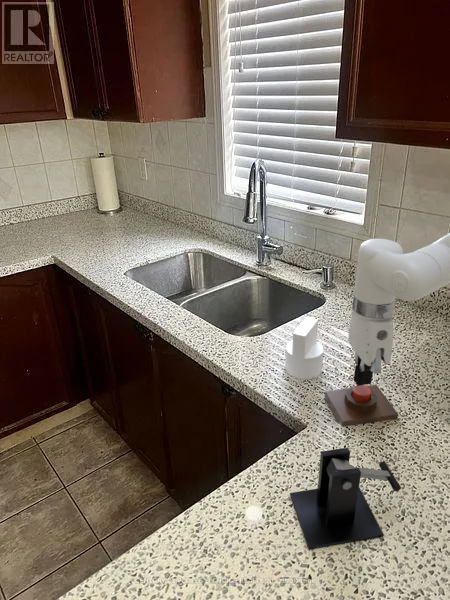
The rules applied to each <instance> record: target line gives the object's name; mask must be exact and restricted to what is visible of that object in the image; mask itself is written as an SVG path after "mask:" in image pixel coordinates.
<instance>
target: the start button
mask: <svg viewBox="0 0 450 600" xmlns="http://www.w3.org/2000/svg"><path fill="white" fill-rule="evenodd" d="M354 386H355V387H354V388H353V394H352V396H353V398H354V399H355V400H357V401H360V402H367V401H369V400H370V395H371V390H370V389H369V388H368V387H366V386H367V385H360V386H357V385H354Z"/></svg>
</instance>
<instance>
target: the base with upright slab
mask: <svg viewBox="0 0 450 600" xmlns="http://www.w3.org/2000/svg"><path fill="white" fill-rule="evenodd" d="M318 326H319V319H317V318H314V317H309V316H306V317H304V319H303V320H302V321H301V322H300V324H299V325H298V326H297V327H296V329H295V330H294V331H293V332H292V339H291V340H288V342H287V343H286V344H285V357H284V358H285V360H284V361H285V363H284V369H285V371H286V372H287V374H288V375H290V376H291V377H293V378H295V379H300V380H311V379H316V378H317V377H319V376H320V375H321V374H322V372H323V365H324V364H323V363H324V351H325V349H324V346H323V344H322V343H320V341H317V340H318Z"/></svg>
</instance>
